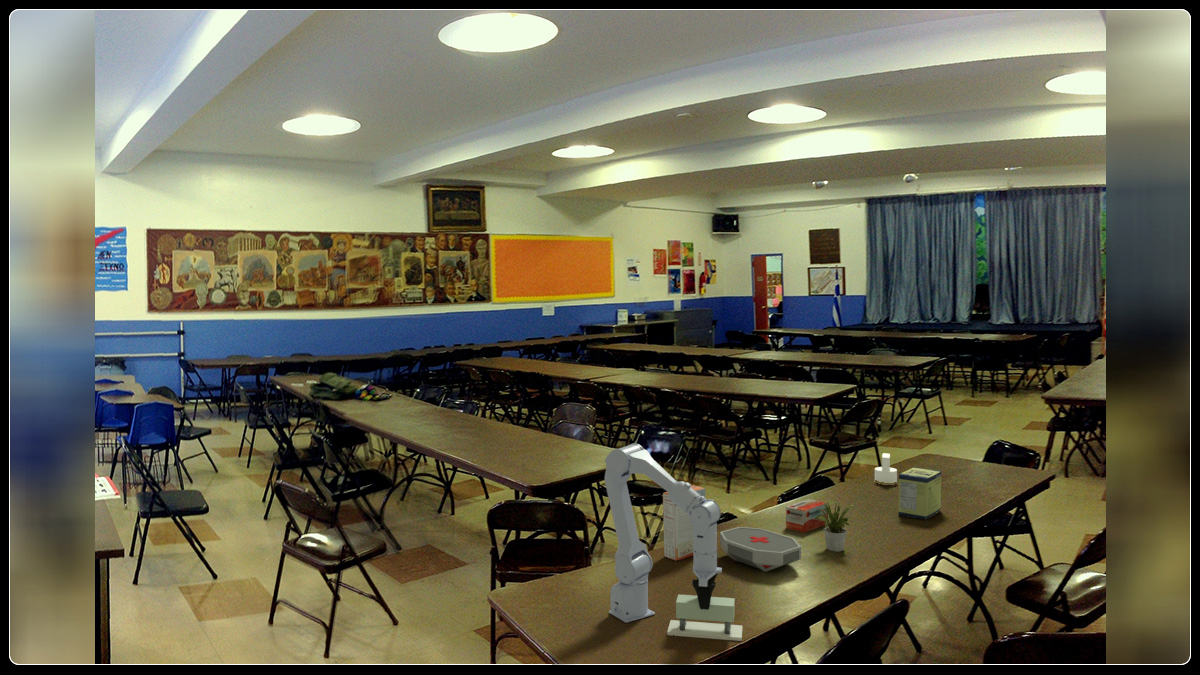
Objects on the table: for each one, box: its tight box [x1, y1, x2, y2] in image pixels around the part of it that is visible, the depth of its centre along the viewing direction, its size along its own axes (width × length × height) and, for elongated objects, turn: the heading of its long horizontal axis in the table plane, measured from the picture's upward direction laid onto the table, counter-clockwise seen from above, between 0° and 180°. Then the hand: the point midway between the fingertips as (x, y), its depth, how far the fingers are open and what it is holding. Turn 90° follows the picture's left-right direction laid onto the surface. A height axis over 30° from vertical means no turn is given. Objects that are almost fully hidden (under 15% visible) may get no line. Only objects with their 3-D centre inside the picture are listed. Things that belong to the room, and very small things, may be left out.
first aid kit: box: [719, 526, 802, 573], centre depth 245 cm, size 18×8×25 cm
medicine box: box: [785, 498, 829, 533], centre depth 282 cm, size 15×8×8 cm, turn 133°
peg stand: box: [666, 618, 744, 642], centre depth 197 cm, size 18×7×4 cm, turn 78°
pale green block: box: [675, 593, 736, 623], centre depth 196 cm, size 14×5×4 cm, turn 78°
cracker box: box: [662, 484, 706, 562], centre depth 253 cm, size 14×6×21 cm, turn 130°
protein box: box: [897, 466, 942, 520], centre depth 295 cm, size 10×16×16 cm
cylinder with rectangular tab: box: [874, 452, 898, 483], centre depth 341 cm, size 9×9×12 cm
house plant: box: [812, 499, 855, 553], centre depth 257 cm, size 14×14×16 cm
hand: (705, 604), depth 196 cm, fingers closed on pale green block, 5 cm apart
